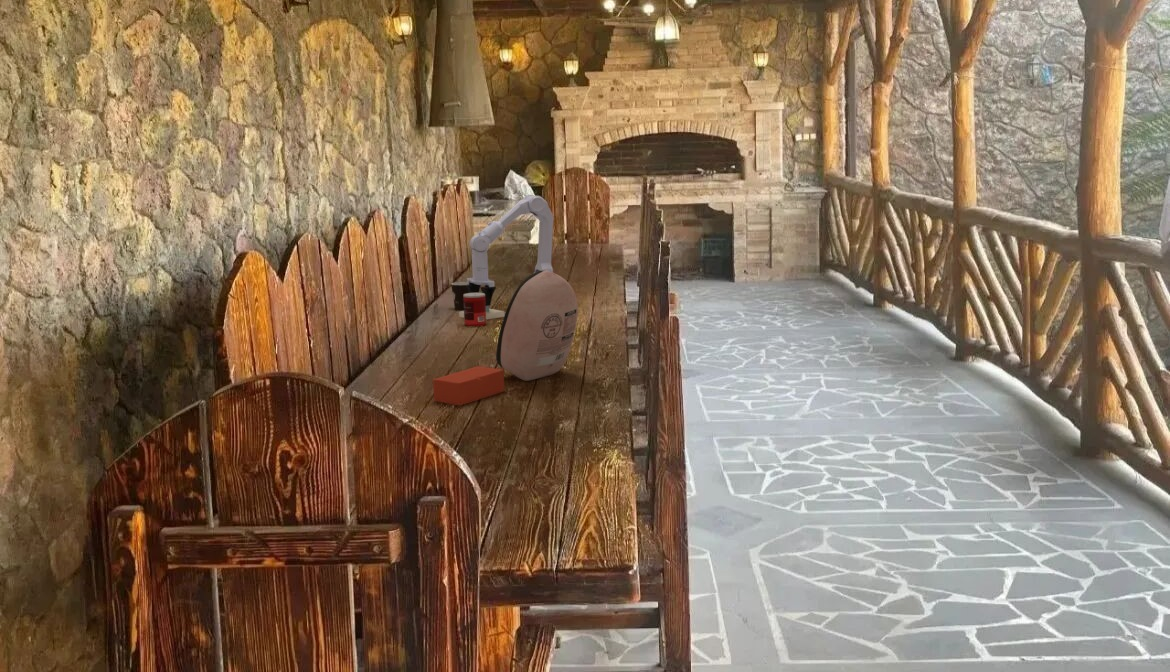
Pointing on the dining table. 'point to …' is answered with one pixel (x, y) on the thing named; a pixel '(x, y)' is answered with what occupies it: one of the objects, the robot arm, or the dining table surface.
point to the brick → (468, 385)
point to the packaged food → (538, 327)
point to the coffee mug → (459, 294)
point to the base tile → (488, 314)
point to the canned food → (474, 309)
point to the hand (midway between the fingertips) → (481, 304)
